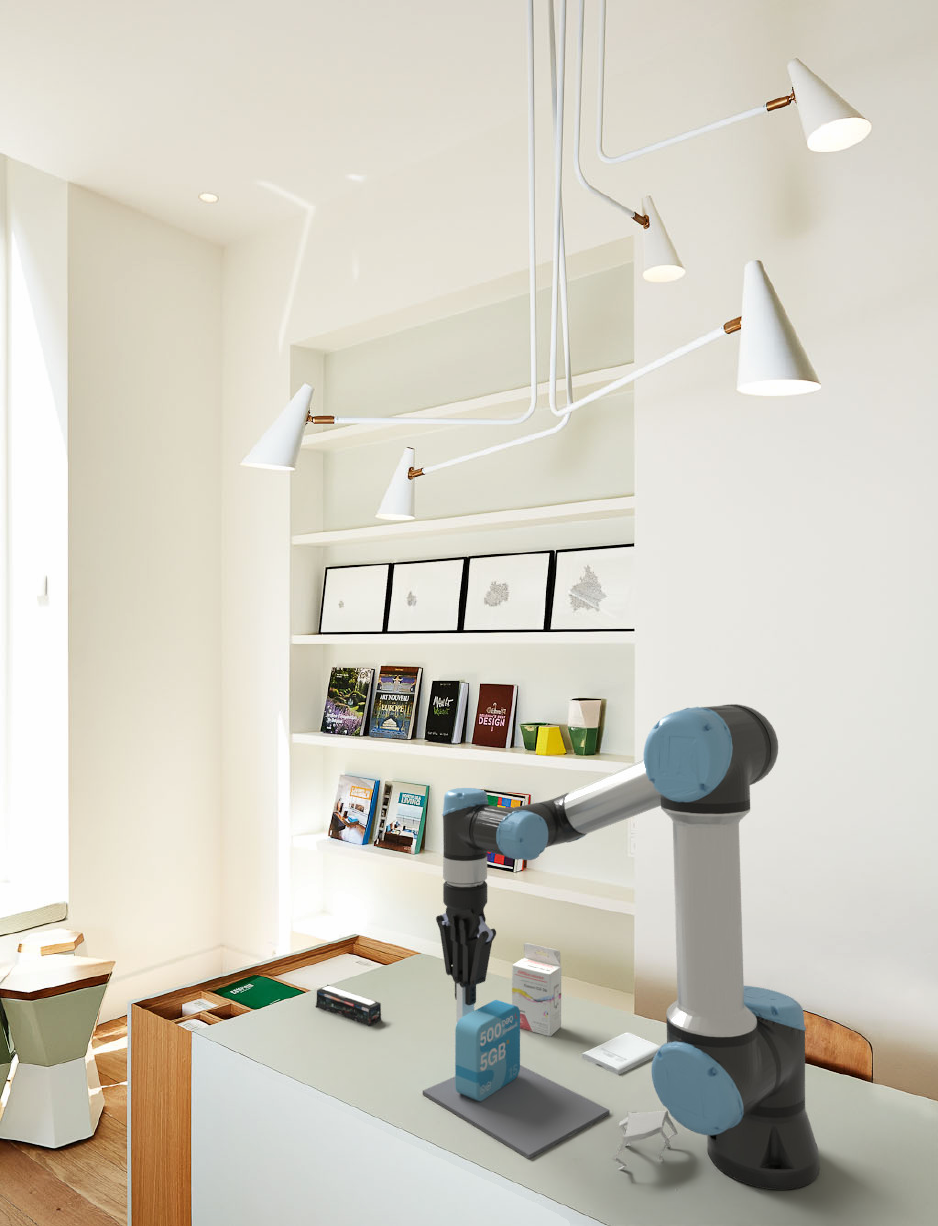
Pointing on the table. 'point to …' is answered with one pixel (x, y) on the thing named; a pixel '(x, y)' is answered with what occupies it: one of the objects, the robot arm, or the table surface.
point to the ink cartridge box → (538, 989)
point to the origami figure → (644, 1130)
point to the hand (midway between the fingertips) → (465, 1021)
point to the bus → (349, 1005)
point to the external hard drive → (622, 1053)
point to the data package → (487, 1049)
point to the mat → (522, 1111)
